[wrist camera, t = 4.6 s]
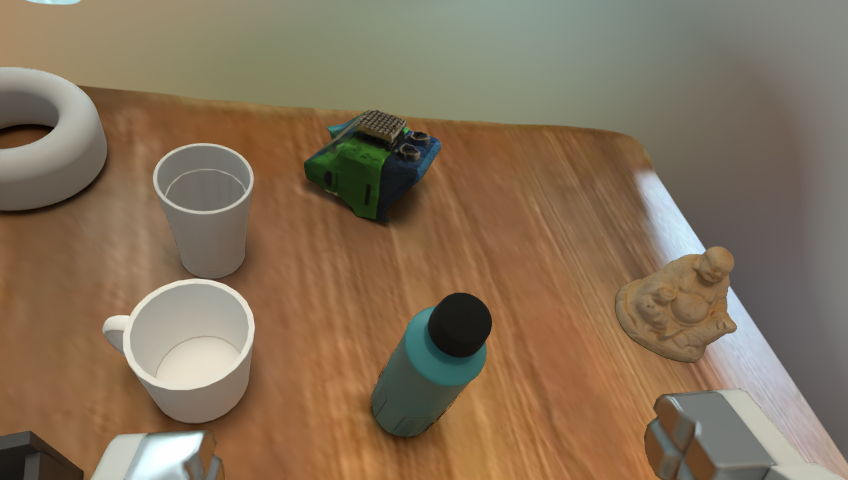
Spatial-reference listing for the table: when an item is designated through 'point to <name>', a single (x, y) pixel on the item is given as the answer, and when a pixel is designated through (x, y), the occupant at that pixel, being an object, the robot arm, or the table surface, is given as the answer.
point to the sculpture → (372, 162)
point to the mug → (188, 347)
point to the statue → (679, 305)
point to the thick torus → (47, 139)
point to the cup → (206, 206)
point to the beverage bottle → (432, 364)
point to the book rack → (33, 460)
